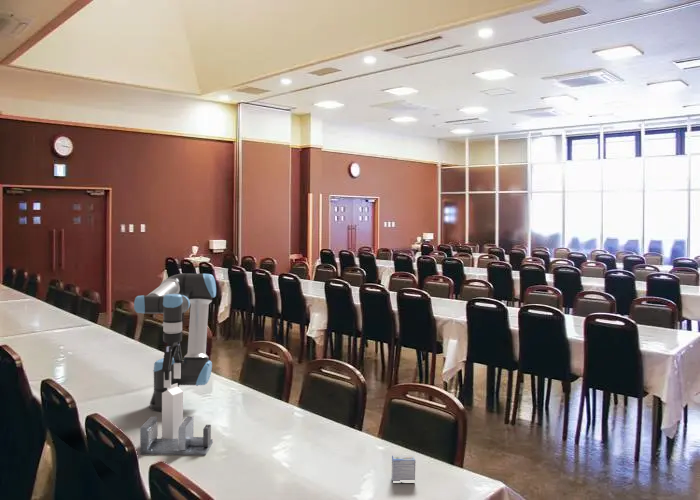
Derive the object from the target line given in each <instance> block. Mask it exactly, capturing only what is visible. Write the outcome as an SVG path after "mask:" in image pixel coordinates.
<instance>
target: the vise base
mask: <svg viewBox="0 0 700 500" xmlns="http://www.w3.org/2000/svg"><path fill="white" fill-rule="evenodd" d="M158 425H159V422H158V416H150V417H149V418H148V419H147V420H146V421H145V422H144V423H143V424H142V425H141V426H140V427H139V430H140V432H139V434H140V436H139V438H140V439H139V440H140V443H139V444H140V449H139V451H140V452H139V453H140V455H153V456H154V455H155V456H156V455H160V456H161V455H162V456H163V455H164V456H165V455H167V456H169V455H170V456H171V455H173V456H206V455H207V454H208V452H209V451H210V448H211V447H212V445H213V443H214V441H213V438H211V442H210V444H209V446H208V447H203V446H200V445H189V446H188V447H187V449H186V450H179V445H178V438H177V439H165V438H158V436H159V435H158V434H159V433H158V432H159V429H158Z"/></svg>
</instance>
